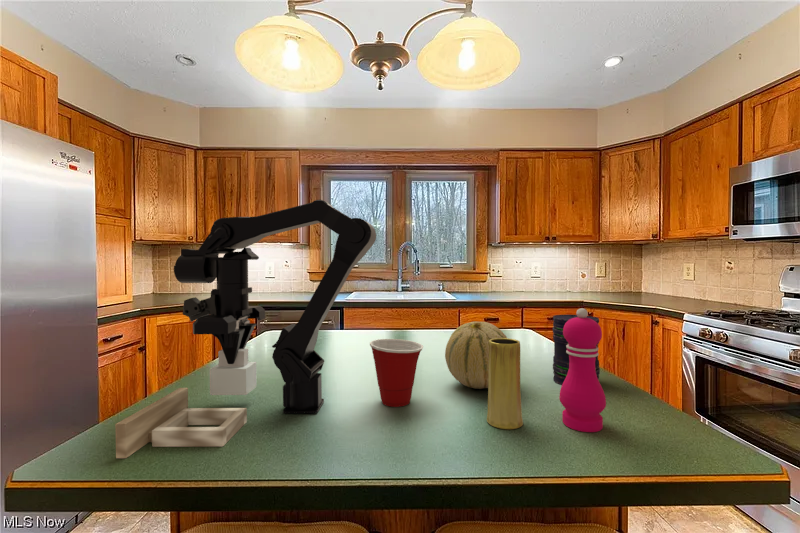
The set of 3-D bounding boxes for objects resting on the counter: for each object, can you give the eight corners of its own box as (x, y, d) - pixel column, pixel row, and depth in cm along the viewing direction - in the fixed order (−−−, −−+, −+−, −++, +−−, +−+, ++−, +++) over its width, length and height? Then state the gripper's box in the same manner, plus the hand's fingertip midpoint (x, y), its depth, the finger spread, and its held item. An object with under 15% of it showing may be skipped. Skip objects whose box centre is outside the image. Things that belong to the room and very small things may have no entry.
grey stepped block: (256, 386, 78) (256, 347, 78) (246, 394, 73) (245, 353, 73) (222, 386, 78) (221, 347, 78) (209, 394, 73) (209, 353, 73)
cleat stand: (254, 414, 72) (254, 387, 72) (211, 458, 56) (210, 423, 56) (180, 414, 72) (179, 387, 72) (116, 458, 56) (115, 424, 56)
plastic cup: (427, 411, 72) (426, 348, 72) (369, 413, 72) (368, 349, 72) (421, 391, 83) (420, 336, 83) (371, 393, 83) (370, 337, 82)
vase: (526, 419, 68) (526, 339, 68) (518, 433, 63) (517, 346, 63) (492, 412, 71) (492, 336, 71) (482, 425, 66) (481, 342, 66)
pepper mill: (612, 435, 62) (612, 311, 61) (564, 432, 63) (564, 310, 63) (598, 417, 69) (598, 306, 68) (555, 414, 70) (555, 305, 70)
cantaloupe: (497, 375, 94) (497, 314, 94) (524, 396, 80) (523, 324, 79) (438, 378, 93) (438, 316, 92) (454, 400, 78) (454, 326, 78)
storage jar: (606, 390, 83) (606, 321, 83) (558, 388, 85) (558, 320, 84) (591, 376, 93) (591, 314, 93) (548, 374, 94) (548, 314, 94)
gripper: (215, 280, 85) (216, 351, 85) (161, 286, 66) (163, 376, 67) (265, 280, 85) (266, 351, 85) (225, 286, 66) (227, 376, 66)
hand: (233, 362), depth 76 cm, fingers closed on grey stepped block
